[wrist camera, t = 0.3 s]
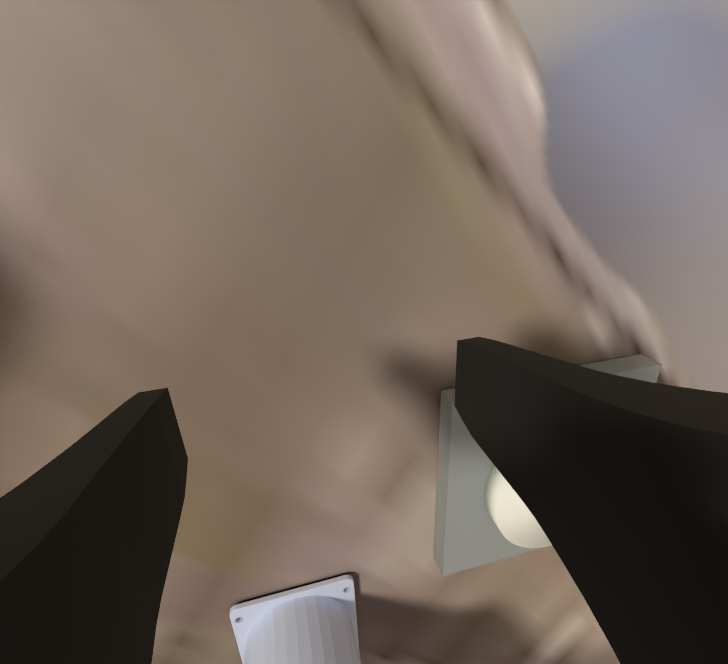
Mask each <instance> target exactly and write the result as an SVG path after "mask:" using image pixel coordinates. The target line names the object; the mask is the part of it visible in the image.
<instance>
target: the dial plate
mask: <svg viewBox="0 0 728 664" xmlns="http://www.w3.org/2000/svg"><path fill="white" fill-rule="evenodd" d="M578 366H582V367H586V368H590V369H593V370H597V371H601V372H605V373H609V374H614V375H618V376H623V377H628V378H633V379H638V380H642V381H647V382H652V383H656V382H657V378H658V375H659V372H660V368H661V364H659V363H657V362H655V361H653V360H651V359H650V358H648V357H646V356H644V355H642V354H638V355H633V356H627V357H622V358H616V359H611V360H605V361H600V362H594V363H589V364H583V365H578ZM454 403H455V388H452V389H446V390H441V401H440V425H439V449H438V472H437V496H436V520H435V544H434V558H435V561H436V563H437V565H438V567H439V569H440V572H441V574H442V576H446V575H449V574H453V573H456V572H460V571H463V570H467V569H470V568H474V567H477V566H481V565H484V564H488V563H491V562H495V561H498V560H502V559H505V558H509V557H512V556H516V555H519V554H523V553H526V552H530V551H533V550H537V549H540V548H524V547H520V546H517V545H515V544H512V543H511V542H509V541H508V540H507V539H506V538H505V537H504V536H503V535H502V533H501V532H500V530H499V529H498V527H497V526H496V524H495V523H494V521H493V520H492V518H491V517H490V515H489V513H488V512H487V509H486V506H485V488H486V484H487V481H488V478H489V476H490V473H491V471H492V469H493V468H494V464H493V463H492V462H491V460H490V459H489V458H488V457H487V455H486V454H485V453H484V451H483V450H482V449H481V448H480V446H479V445H478V444H477V442H476V441H475V440H474V438H473V437H472V436H471V434H470V432H469V431H468V429H467V427H466V426H465V424H464V422H463V421H462V419H461V417H460V415H459V413H458V411H457V410H456V408H455V406H454ZM542 548H543V547H542Z"/></svg>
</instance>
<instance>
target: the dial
mask: <svg viewBox="0 0 728 664" xmlns="http://www.w3.org/2000/svg"><path fill="white" fill-rule="evenodd" d="M485 506H486V509H487V512H488V513H489V515H490V517H491V518H492V520H493V521H494V523H495V524H496V526H497V527H498V529H499V530H500V532H501V533H502V535H503V536H504V537H505V538H506V539H507V540H508V541H509V542H511V543H512V544H515V545H517V546H520V547H524V548H542V547H547V546H552V544H551V542H550V541H549V539H548V538H547V536H546V534H545V533H544V531H543V530H542V528H541V527H540V525H539V523H538V522H537V520H536V519H535V517H534V516H533V515H532V513H531V512H530V510H529V509H528V508H527V506H526V505H525V504H524V502H523V501H522V500H521V498H520V497H519V496H518V495H517V493H516V492H515V491H514V490H513V488H512V487H511V486H510V484H509V483H508V482H507V481H506V479H505V478H504V477H503V476H502V474H501V473H500V472H499V471H498V469H497V468H496V467H495V466H494V468H493V469H492V471H491V473H490V476H489V478H488V481H487V484H486V488H485Z"/></svg>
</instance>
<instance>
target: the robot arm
mask: <svg viewBox="0 0 728 664" xmlns="http://www.w3.org/2000/svg"><path fill="white" fill-rule="evenodd" d="M454 406H455V408H456V410H457V411H458V413H459V415H460V417H461V419H462V421H463V422H464V424H465V426H466V427H467V429H468V431H469V432H470V434H471V436H472V437H473V438H474V440H475V441H476V442H477V444H478V445H479V446H480V448H481V449H482V450H483V451H484V453H485V454H486V455H487V457H488V458H489V459H490V460H491V462H492V463H493V464H494V466H495V467H496V468H497V469H498V471H499V472H500V473H501V474H502V476H503V477H504V478H505V479H506V481H507V482H508V483H509V484H510V486H511V487H512V488H513V490H514V491H515V492H516V493H517V495H518V496H519V497H520V498H521V500H522V501H523V502H524V504H525V505H526V506H527V508H528V509H529V510H530V512H531V513H532V515H533V516H534V517H535V519H536V520H537V522H538V523H539V525H540V527H541V528H542V530H543V531H544V533H545V534H546V536H547V538H548V539H549V541H550V542H551V544H552V545H553V547H554V549H555V550H556V552H557V553H558V555H559V557H560V558H561V560H562V562H563V563H564V565H565V567H566V568H567V570H568V572H569V573H570V575H571V577H572V578H573V580H574V582H575V583H576V585H577V587H578V588H579V590H580V592H581V593H582V595H583V597H584V598H585V600H586V602H587V604H588V605H589V607H590V609H591V611H592V613H593V614H594V616H595V618H596V620H597V622H598V623H599V625H600V627H601V629H602V631H603V632H604V634H605V636H606V638H607V639H608V641H609V643H610V645H611V647H612V648H613V650H614V652H615V654H616V656H617V658H618V660H619V662H620V664H728V393H721V392H711V391H705V390H698V389H691V388H683V387H676V386H670V385H664V384H658V383H652V382H647V381H642V380H638V379H633V378H628V377H623V376H618V375H614V374H609V373H605V372H601V371H597V370H593V369H590V368H586V367H582V366H578V365H575V364H571V363H568V362H564V361H561V360H558V359H554V358H551V357H548V356H544V355H541V354H538V353H535V352H532V351H528V350H525V349H522V348H519V347H516V346H512V345H509V344H506V343H502V342H499V341H495V340H491V339H487V338H481V337H476V338H470V339H464V340H458V341H457V360H456V381H455V403H454ZM187 463H188V458H187V454H186V451H185V447H184V444H183V440H182V437H181V433H180V430H179V426H178V423H177V419H176V416H175V412H174V409H173V405H172V402H171V398H170V395H169V391H168V388H164V389H157V390H151V391H145V392H139V393H137V394H136V395H134V396H133V397H131V398H130V399H129V400H127V401H126V402H125V403H123V404H122V405H121V406H120V407H118V408H117V409H116V410H115V411H113V412H112V413H111V414H110V415H109V416H107V417H106V418H105V419H104V420H103V421H101V422H100V423H99V424H98V425H96V426H95V427H94V428H93V429H91V430H90V431H89V432H88V433H87V434H85V435H84V436H83V437H82V438H80V439H79V440H78V441H77V442H76V443H74V444H73V445H72V446H70V447H69V448H68V449H67V450H65V451H64V452H63V453H61V454H60V455H59V456H57V457H56V458H55V459H53V460H52V461H51V462H49V463H48V464H47V465H45V466H44V467H43V468H41V469H40V470H39V471H37V472H36V473H35V474H33V475H32V476H31V477H29V478H28V479H27V480H25V481H24V482H23V483H21V484H20V485H18V486H17V487H15V488H14V489H13V490H11V491H10V492H8V493H7V494H5V495H4V496H2V497H1V498H0V664H151V662H152V654H153V646H154V639H155V631H156V624H157V618H158V613H159V608H160V602H161V597H162V593H163V589H164V584H165V580H166V576H167V572H168V567H169V563H170V559H171V555H172V550H173V546H174V542H175V538H176V533H177V529H178V525H179V520H180V516H181V511H182V507H183V502H184V497H185V487H186V476H187ZM230 619H231V623H232V626H233V630H234V634H235V637H236V641H237V644H238V648H239V651H240V655H241V658H242V662H243V664H361V660H360V654H359V641H358V629H357V616H356V603H355V590H354V581H353V577H352V576H351V575H343V576H339V577H336V578H332V579H328V580H325V581H321V582H317V583H313V584H310V585H306V586H302V587H299V588H295V589H291V590H288V591H284V592H280V593H277V594H273V595H269V596H266V597H262V598H258V599H255V600H251V601H247V602H243V603H240V604H236V605H234V606H233V607H232V608H231V609H230Z"/></svg>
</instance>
